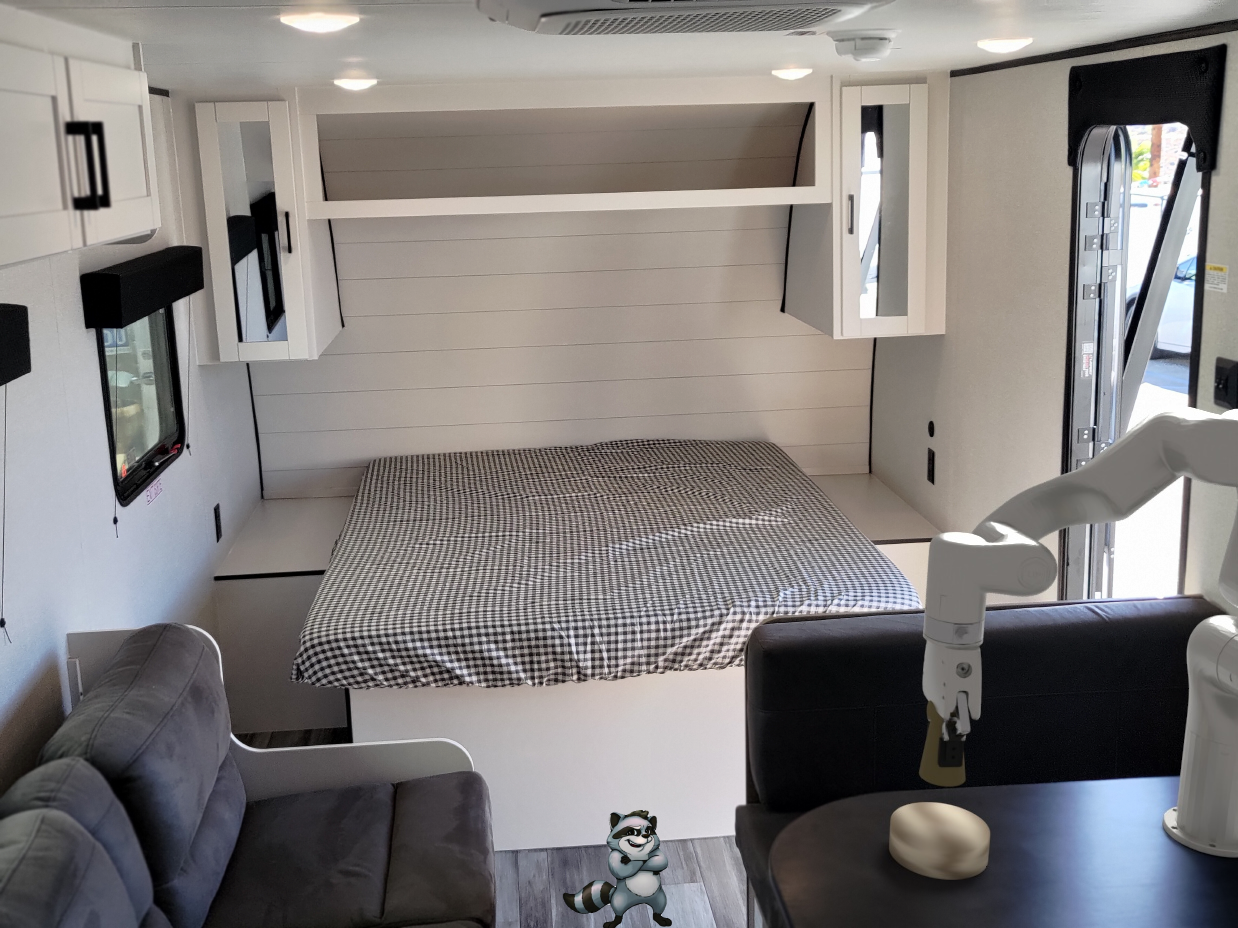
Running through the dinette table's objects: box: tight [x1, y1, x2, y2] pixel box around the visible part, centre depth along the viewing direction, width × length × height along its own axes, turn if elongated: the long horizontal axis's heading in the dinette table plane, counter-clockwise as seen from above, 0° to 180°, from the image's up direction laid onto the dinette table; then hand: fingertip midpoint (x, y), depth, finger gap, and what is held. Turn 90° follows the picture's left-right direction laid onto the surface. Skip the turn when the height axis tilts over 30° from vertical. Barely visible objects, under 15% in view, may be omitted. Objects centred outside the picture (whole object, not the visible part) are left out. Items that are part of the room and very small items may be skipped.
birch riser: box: [888, 801, 991, 881], centre depth 156 cm, size 13×13×4 cm
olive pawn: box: [918, 700, 966, 787], centre depth 153 cm, size 6×6×11 cm
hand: (943, 756), depth 154 cm, fingers closed on olive pawn, 4 cm apart
